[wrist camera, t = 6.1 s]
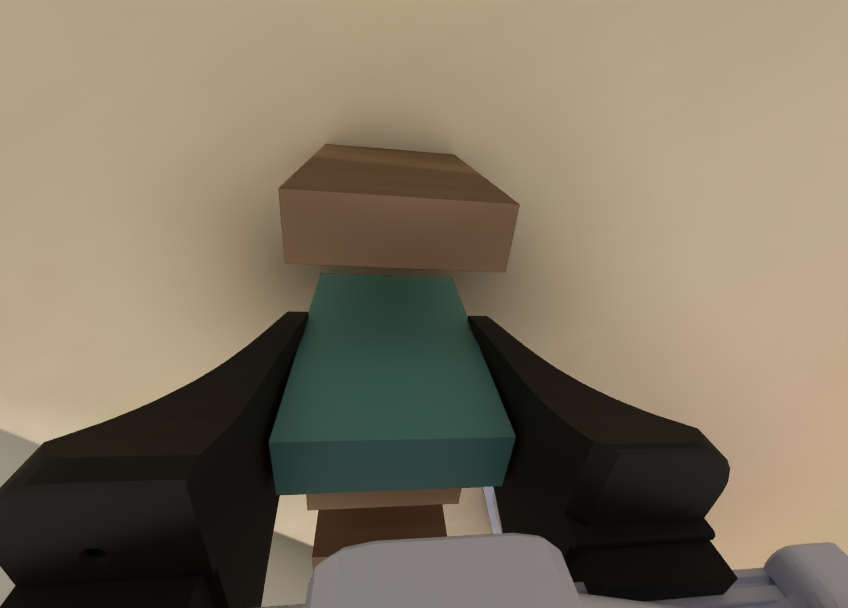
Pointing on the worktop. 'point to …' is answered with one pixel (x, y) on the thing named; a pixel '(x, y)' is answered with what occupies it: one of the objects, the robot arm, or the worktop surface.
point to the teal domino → (388, 393)
